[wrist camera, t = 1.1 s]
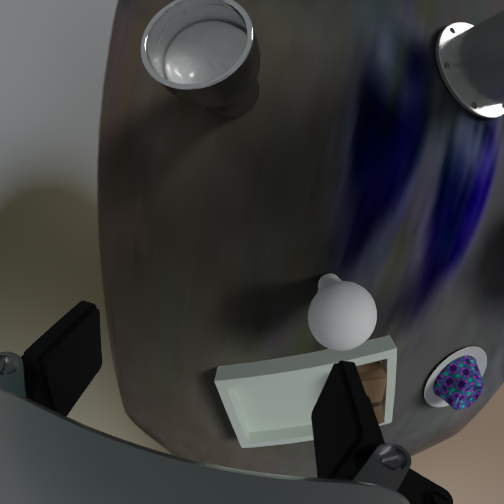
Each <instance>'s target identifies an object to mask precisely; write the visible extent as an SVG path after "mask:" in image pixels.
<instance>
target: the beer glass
mask: <svg viewBox="0 0 504 504" xmlns="http://www.w3.org/2000/svg"><path fill="white" fill-rule="evenodd" d="M141 56H142V61H143V63H144V66H145V68H146V69H147V71H148V72H149V74H150V75H151V76H152V77H153V78H154V79H155V80H157V81H158V82H159V83H160V84H161V85H163V86H164V87H165V88H166V89H167V90H168V91H169V92H171V93H172V94H173V95H175V96H176V97H177V98H179V99H181V100H183V101H185V102H187V103H189V104H191V105H194V106H198V107H204V108H205V109H206V110H207V111H208V112H210V113H211V114H213V115H215V116H217V117H220V118H235V117H239V116H241V115H243V114H245V113H246V112H248V111H249V110H250V109H251V108H252V107H253V106H254V104H255V103H256V101H257V99H258V96H259V83H258V80H257V76H258V73H259V69H260V49H259V44H258V40H257V37H256V34H255V31H254V29H253V25H252V22H251V19H250V17H249V15H248V14H247V12H246V11H245V10H244V9H243V8H242V7H241V6H240V5H239V4H238V3H236V2H235V1H233V0H176V1H174V2H172V3H170V4H168V5H167V6H165V7H164V8H163V9H161V10H160V11H159V12H158V13H157V14H156V15H155V16H154V17H153V19H152V20H151V21H150V23H149V24H148V26H147V28H146V30H145V32H144V35H143V38H142V42H141Z"/></svg>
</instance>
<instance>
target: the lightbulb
mask: <svg viewBox="0 0 504 504" xmlns="http://www.w3.org/2000/svg"><path fill="white" fill-rule="evenodd" d="M376 320H377V310H376V306H375V302H374V300H373V298H372V296H371V295H370V294H369V292H368V291H367V290H366V289H364V288H363V287H362V286H360V285H358V284H356V283H353V282H348V281H342V280H340V279H339V278H338V277H337V276H336V275H334V274H325V275H324V276H322V277H321V278H320V279H319V282H318V293H317V294H316V295H315V296H314V298H313V300H312V301H311V304H310V307H309V311H308V323H309V328H310V330H311V332H312V334H313V336H314V337H315V338H316V340H317V341H318V342H319V343H321V344H322V345H323V346H325V347H327V348H329V349H332V350H338V351H346V350H351V349H353V348H356V347H358V346H360V345H361V344H363V343H364V342H365V341H366V340H367V339H368V338H369V337H370V335H371V333H372V332H373V330H374V328H375V325H376Z"/></svg>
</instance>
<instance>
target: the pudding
mask: <svg viewBox="0 0 504 504" xmlns="http://www.w3.org/2000/svg"><path fill="white" fill-rule="evenodd" d="M464 355H470V356H473V357H474V358H475V359H476V360H475V359H474V358H471V359H470V358H469V356H464ZM461 356H463V357H461ZM458 357H461V358H460V359H459V360H454V359H456V358H458ZM453 360H454V361H453ZM451 361H452V362H451ZM476 361H477V363H476ZM448 363H449V364H448ZM447 364H448V365H447ZM446 365H447V367H446V369H445V370H444V371H442V372H441V373H440V371H441V370H442V369H443V368H444V367H445V366H446ZM486 365H487V356H486V353H485V352H484V351H483V350H482V349H481V348H479V347H467V348H464V349H461V350H459V351H457V352H455V353H454V354H452V355H451V356H449V357H448V358H447V359H445V360H444V361H443V362H442V363H441V364H440V365H439V366H438V367H437V368H436V369H435V371H434V372H433V373H432V375H431V376H430V378H429V380H428V381H427V384H426V386H425V391H424V398H425V401H426V402H427V403H428V404H429V405H430V406H433V407H444V406H448V405H450V406H451V407H452V408H454V409H456V410H460V409H462V408H463V409H464V408H467V407H469V406H470V405H471V404H472V403H474V402H475V401H476V400H477V399H478V397H479V395H480V394H481V393H482V391H483V379H482V376H483V374H484V372H485V369H486ZM439 373H440V374H439ZM438 374H439V375H438ZM437 376H438V377H437ZM436 377H437V379H436ZM435 379H436V381H437V384H436V385H435V386H434V391H435V392H436V393H437V394H438V396H437V395H435V393H434V391H433V385H434V382H435ZM439 396H440V397H439Z"/></svg>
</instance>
